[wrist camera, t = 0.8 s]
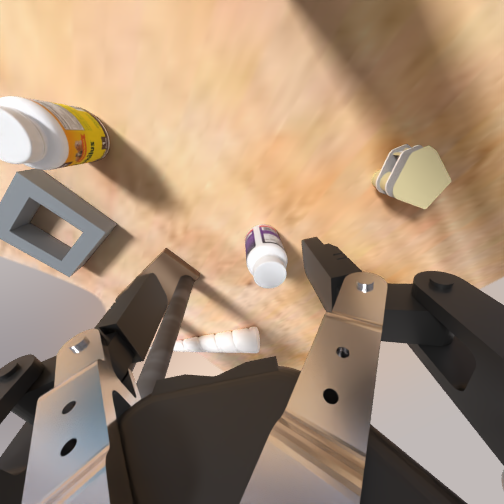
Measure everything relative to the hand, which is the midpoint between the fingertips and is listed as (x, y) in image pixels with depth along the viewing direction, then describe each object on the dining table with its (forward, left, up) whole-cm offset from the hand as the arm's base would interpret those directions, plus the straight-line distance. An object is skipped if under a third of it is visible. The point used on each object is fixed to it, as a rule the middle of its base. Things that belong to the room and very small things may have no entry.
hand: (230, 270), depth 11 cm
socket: (+22, -13, -20) cm, 32 cm away
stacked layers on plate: (-17, +14, -21) cm, 30 cm away
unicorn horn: (+27, +19, -21) cm, 38 cm away
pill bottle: (+3, +9, -20) cm, 22 cm away
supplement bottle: (+9, -16, -20) cm, 27 cm away
